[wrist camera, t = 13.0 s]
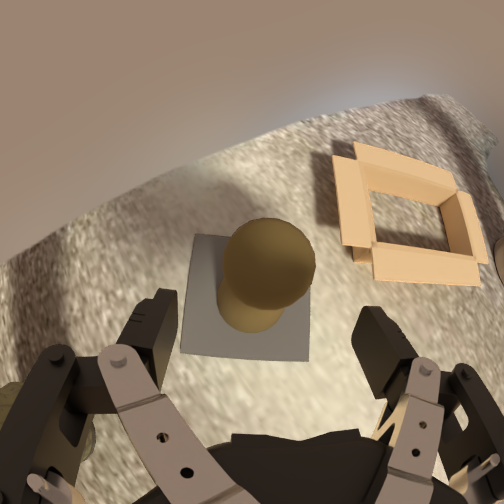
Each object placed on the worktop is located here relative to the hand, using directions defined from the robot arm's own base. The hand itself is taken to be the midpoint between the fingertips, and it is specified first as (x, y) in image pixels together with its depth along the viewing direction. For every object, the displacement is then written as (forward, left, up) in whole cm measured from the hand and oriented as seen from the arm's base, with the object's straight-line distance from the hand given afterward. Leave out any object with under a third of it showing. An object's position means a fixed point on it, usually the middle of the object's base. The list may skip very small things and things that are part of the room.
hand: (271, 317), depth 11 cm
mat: (0, -4, -13) cm, 13 cm away
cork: (0, -3, -12) cm, 13 cm away
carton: (-19, -13, -13) cm, 26 cm away
